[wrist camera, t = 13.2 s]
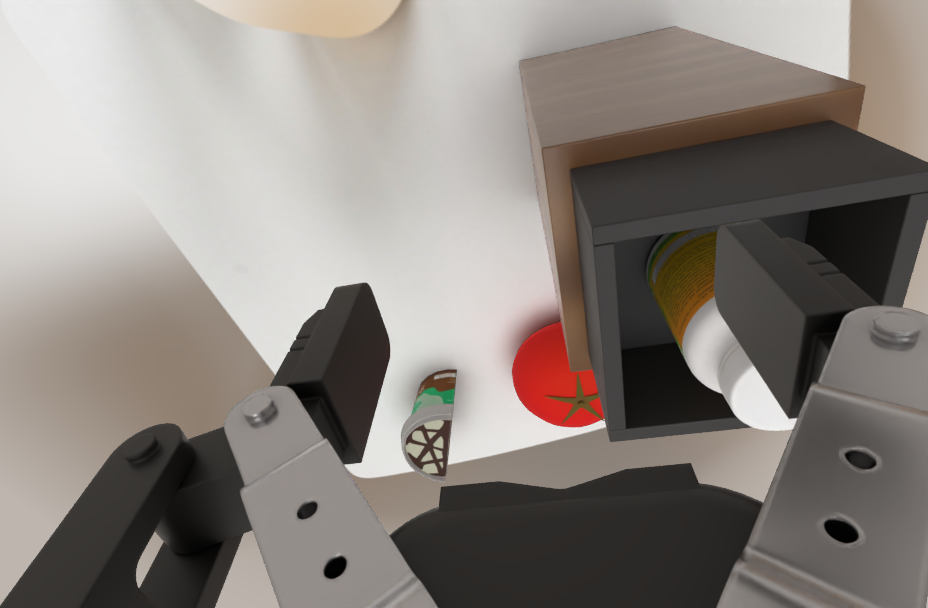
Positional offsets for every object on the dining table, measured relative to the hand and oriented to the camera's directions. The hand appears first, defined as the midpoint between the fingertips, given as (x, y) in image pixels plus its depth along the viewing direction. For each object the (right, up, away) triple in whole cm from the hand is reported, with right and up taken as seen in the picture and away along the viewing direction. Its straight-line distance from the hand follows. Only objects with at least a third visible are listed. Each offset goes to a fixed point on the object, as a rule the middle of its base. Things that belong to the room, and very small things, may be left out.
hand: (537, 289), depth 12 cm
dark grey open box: (+10, +2, +15) cm, 18 cm away
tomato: (+11, -6, +53) cm, 55 cm away
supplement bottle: (+10, +2, +14) cm, 18 cm away
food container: (-6, -13, +59) cm, 61 cm away
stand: (+12, +17, +38) cm, 44 cm away
